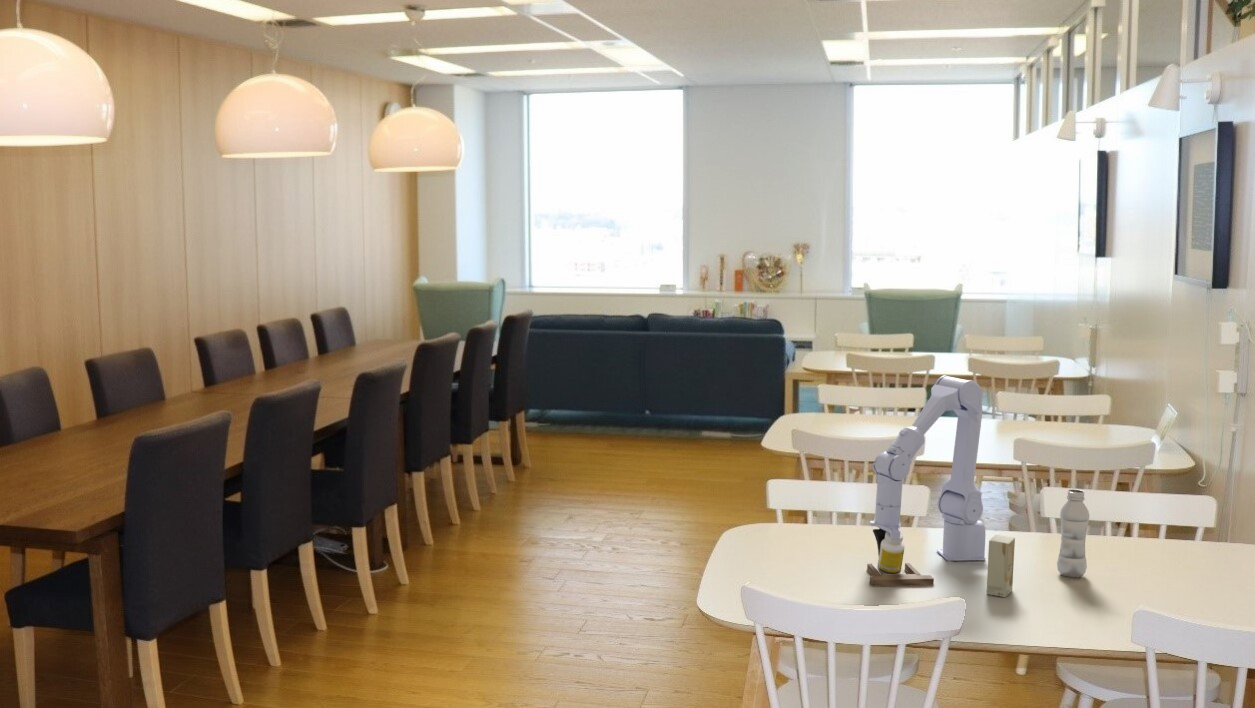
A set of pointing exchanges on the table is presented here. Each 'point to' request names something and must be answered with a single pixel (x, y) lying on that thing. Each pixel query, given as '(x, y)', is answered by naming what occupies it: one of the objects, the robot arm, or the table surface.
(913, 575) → the wooden bracket frame
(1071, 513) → the plastic bottle
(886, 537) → the supplement bottle
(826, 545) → the table surface
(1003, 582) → the skincare box
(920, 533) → the table surface
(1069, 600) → the table surface
